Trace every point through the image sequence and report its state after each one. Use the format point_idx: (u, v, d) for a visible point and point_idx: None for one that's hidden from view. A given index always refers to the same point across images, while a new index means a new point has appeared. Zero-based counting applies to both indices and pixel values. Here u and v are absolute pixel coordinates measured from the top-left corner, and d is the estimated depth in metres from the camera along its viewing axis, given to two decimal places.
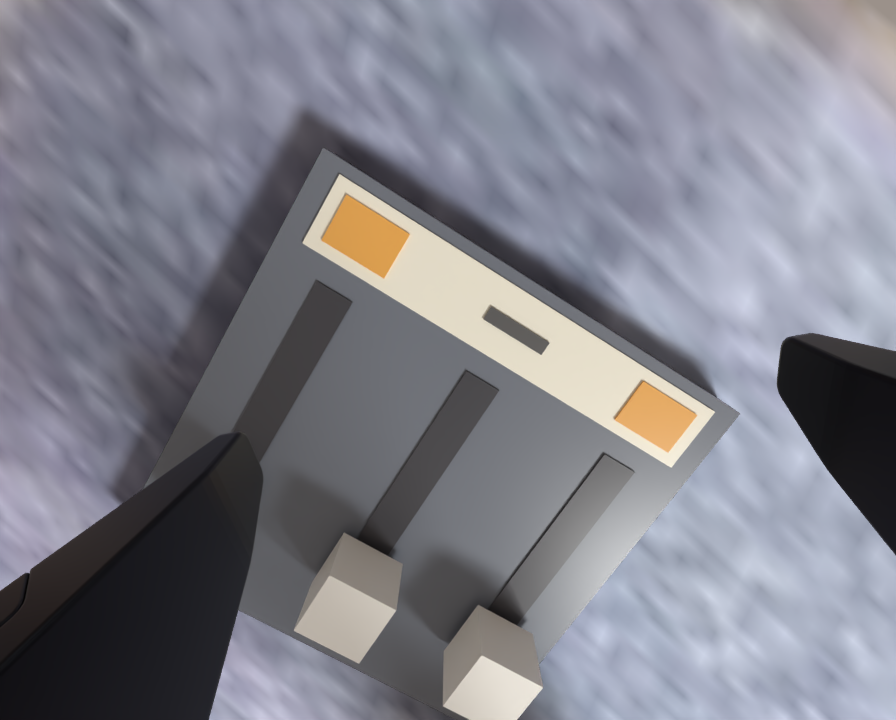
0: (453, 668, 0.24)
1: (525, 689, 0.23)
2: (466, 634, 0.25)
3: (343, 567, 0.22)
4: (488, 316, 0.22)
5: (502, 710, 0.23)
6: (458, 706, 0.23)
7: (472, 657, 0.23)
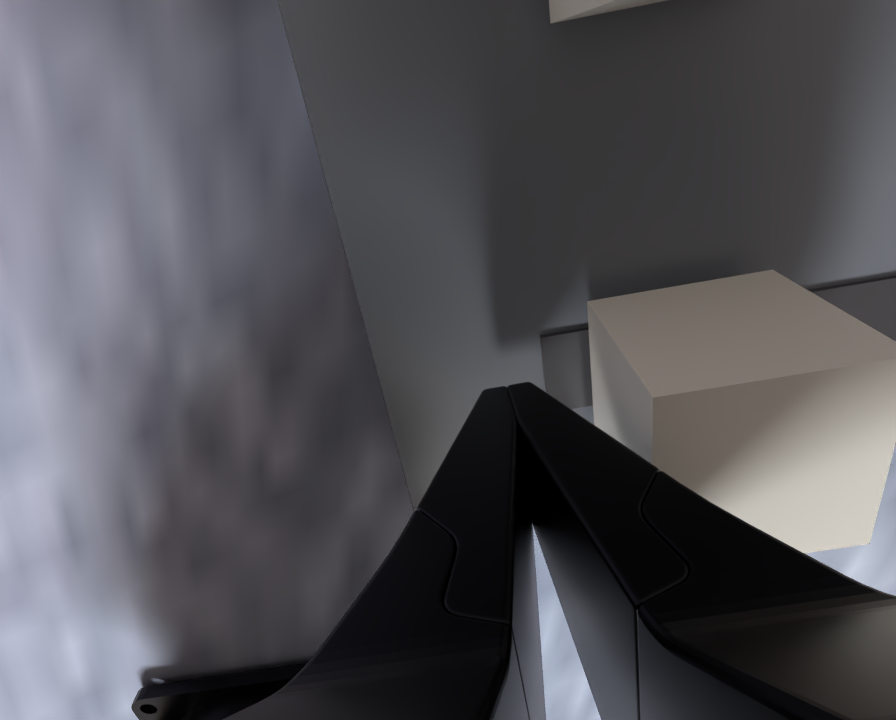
0: (683, 339, 0.07)
1: (841, 519, 0.07)
2: (730, 299, 0.08)
3: None
4: None
5: None
6: (680, 432, 0.07)
7: (830, 345, 0.07)
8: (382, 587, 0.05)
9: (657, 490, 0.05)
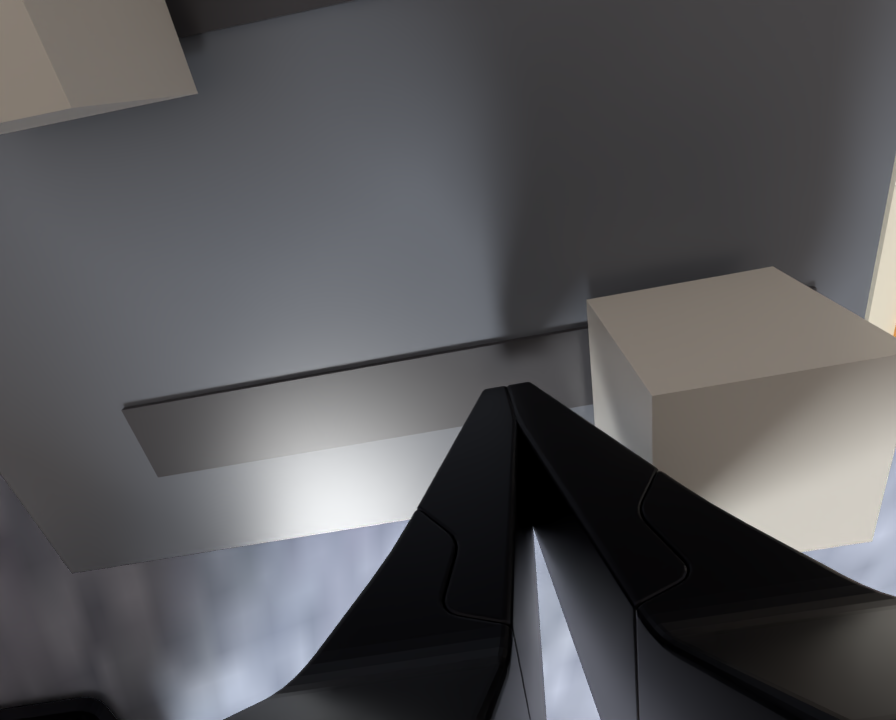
0: (682, 337, 0.07)
1: (843, 516, 0.07)
2: (730, 297, 0.08)
3: None
4: None
5: (740, 519, 0.07)
6: (680, 430, 0.07)
7: (830, 341, 0.07)
8: (383, 587, 0.05)
9: (656, 490, 0.05)
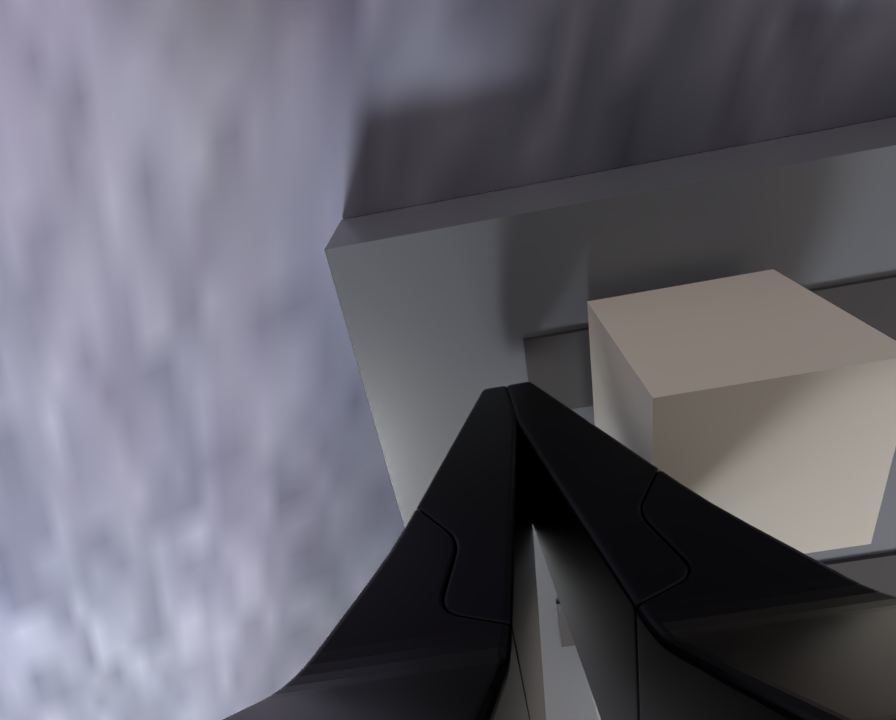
0: None
1: None
2: None
3: None
4: None
5: None
6: None
7: None
8: (382, 587, 0.05)
9: (657, 490, 0.05)
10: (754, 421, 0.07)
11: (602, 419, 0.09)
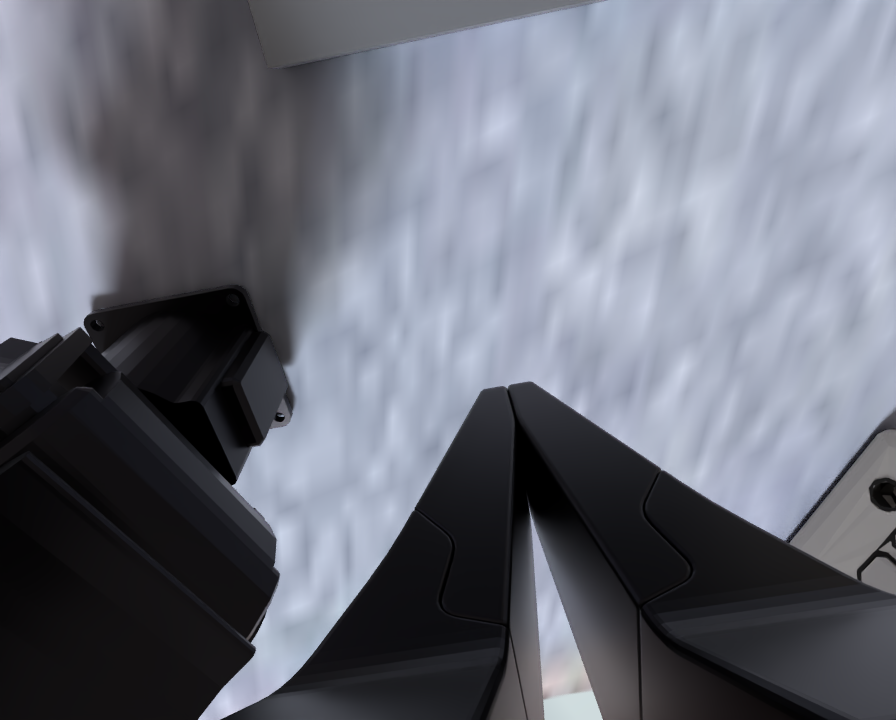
0: None
1: None
2: None
3: None
4: None
5: None
6: None
7: None
8: (380, 588, 0.05)
9: (659, 490, 0.05)
10: None
11: None
